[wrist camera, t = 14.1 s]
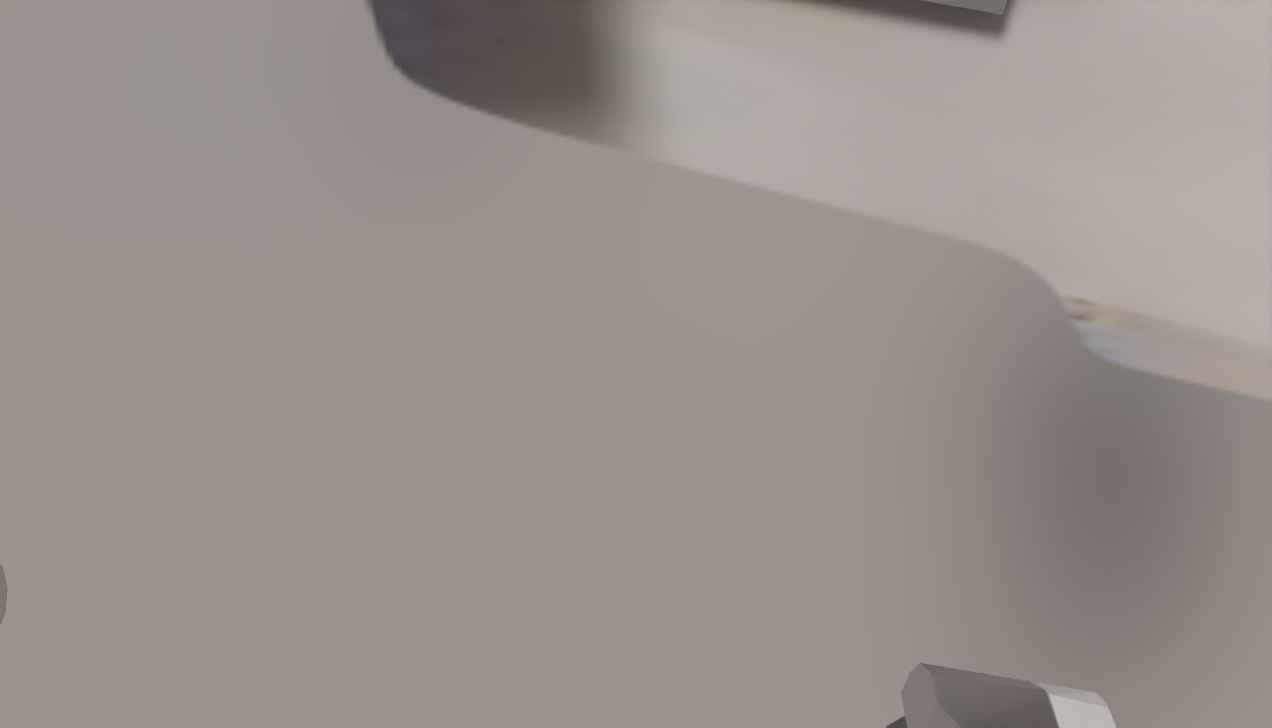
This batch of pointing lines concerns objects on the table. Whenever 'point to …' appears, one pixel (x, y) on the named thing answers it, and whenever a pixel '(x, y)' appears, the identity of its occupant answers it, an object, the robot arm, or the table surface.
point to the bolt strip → (976, 4)
